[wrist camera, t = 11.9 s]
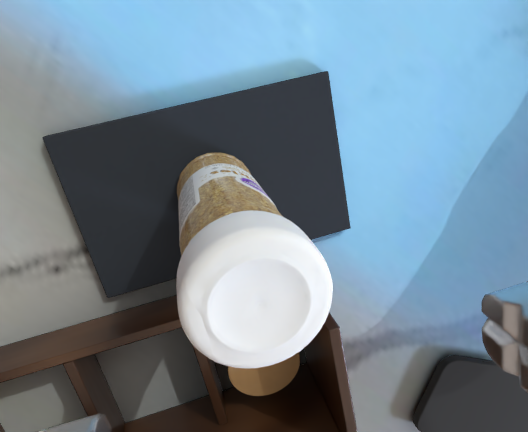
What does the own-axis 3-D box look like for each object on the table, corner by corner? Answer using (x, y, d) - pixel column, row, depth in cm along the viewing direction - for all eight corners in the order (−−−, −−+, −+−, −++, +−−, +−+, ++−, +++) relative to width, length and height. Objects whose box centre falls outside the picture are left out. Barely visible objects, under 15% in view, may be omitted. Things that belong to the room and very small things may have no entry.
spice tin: (278, 295, 27) (293, 324, 24) (290, 348, 29) (305, 382, 26) (214, 315, 27) (219, 347, 24) (229, 368, 28) (237, 405, 25)
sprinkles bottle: (263, 165, 24) (363, 256, 11) (236, 234, 25) (301, 387, 12) (189, 139, 22) (210, 208, 10) (164, 212, 23) (154, 360, 11)
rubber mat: (324, 71, 23) (328, 71, 23) (347, 225, 27) (350, 228, 26) (45, 136, 21) (41, 137, 21) (108, 293, 25) (107, 298, 24)
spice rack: (294, 260, 27) (348, 339, 18) (315, 366, 30) (370, 474, 22) (-49, 360, 24) (-168, 508, 16) (15, 466, 27) (-55, 635, 19)
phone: (541, 442, 38) (412, 432, 33) (534, 435, 38) (406, 424, 34) (580, 377, 36) (448, 358, 31) (571, 371, 37) (442, 351, 32)
